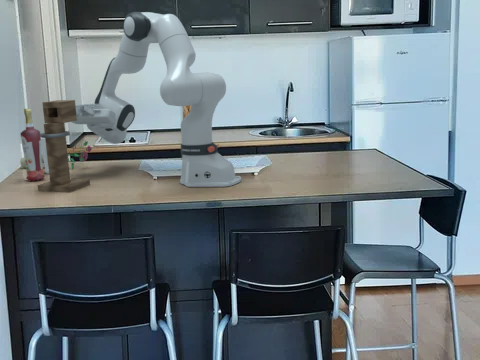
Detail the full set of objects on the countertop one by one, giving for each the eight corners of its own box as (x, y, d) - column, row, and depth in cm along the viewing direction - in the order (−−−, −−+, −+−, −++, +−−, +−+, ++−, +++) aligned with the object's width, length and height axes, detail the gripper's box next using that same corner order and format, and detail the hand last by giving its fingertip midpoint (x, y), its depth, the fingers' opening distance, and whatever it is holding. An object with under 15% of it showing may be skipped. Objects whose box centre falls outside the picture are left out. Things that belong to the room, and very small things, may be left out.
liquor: (49, 179, 238) (41, 108, 232) (32, 183, 233) (23, 110, 227) (39, 177, 243) (31, 107, 237) (22, 180, 238) (13, 109, 232)
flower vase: (35, 183, 270) (103, 166, 261) (17, 180, 259) (88, 162, 249) (31, 157, 272) (99, 139, 262) (13, 154, 261) (84, 135, 251)
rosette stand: (90, 184, 225) (81, 99, 218) (68, 193, 213) (59, 103, 206) (59, 183, 230) (49, 100, 223) (36, 191, 218) (25, 103, 211)
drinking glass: (55, 174, 248) (51, 138, 245) (40, 174, 249) (36, 138, 246) (63, 171, 255) (59, 135, 251) (49, 171, 256) (45, 136, 253)
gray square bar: (100, 111, 239) (99, 103, 238) (65, 114, 218) (65, 106, 218) (93, 111, 240) (93, 103, 239) (58, 114, 219) (58, 106, 219)
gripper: (78, 115, 245) (57, 100, 233) (121, 114, 238) (103, 100, 225) (74, 129, 243) (54, 115, 231) (118, 129, 236) (99, 115, 224)
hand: (78, 108), depth 228 cm, fingers closed on gray square bar, 3 cm apart
